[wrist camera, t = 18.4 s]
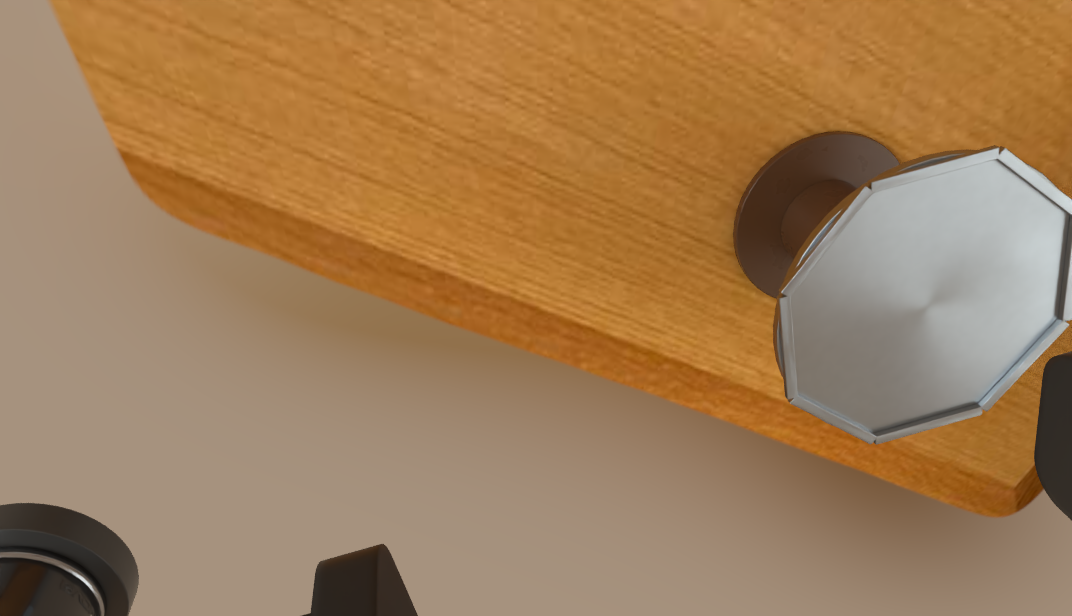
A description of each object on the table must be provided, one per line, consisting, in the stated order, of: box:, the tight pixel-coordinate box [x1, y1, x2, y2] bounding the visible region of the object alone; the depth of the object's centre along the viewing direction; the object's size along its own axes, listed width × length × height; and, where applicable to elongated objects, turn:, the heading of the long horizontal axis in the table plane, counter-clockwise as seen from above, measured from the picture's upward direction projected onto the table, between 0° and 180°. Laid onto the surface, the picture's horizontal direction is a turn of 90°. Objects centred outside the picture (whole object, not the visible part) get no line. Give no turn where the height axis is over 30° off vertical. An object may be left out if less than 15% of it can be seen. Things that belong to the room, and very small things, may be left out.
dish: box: [733, 131, 1072, 444], centre depth 40 cm, size 14×14×11 cm
